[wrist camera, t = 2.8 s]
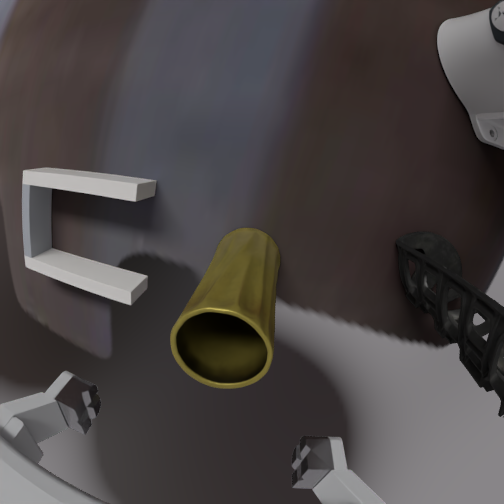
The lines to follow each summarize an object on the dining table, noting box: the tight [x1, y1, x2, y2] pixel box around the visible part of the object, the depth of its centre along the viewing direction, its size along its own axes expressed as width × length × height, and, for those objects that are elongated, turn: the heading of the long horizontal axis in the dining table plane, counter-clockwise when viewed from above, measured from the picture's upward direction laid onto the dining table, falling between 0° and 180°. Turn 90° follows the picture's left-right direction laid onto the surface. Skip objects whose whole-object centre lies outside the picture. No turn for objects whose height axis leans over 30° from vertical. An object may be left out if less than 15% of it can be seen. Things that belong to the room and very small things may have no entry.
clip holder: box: [22, 168, 157, 305], centre depth 25 cm, size 16×12×4 cm
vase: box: [170, 228, 280, 389], centre depth 20 cm, size 6×6×14 cm
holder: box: [396, 232, 504, 417], centre depth 16 cm, size 11×8×20 cm
